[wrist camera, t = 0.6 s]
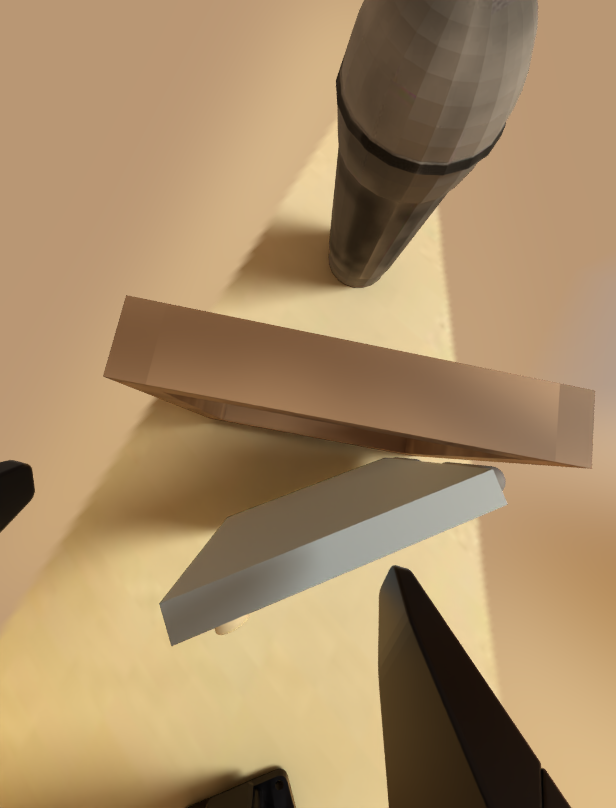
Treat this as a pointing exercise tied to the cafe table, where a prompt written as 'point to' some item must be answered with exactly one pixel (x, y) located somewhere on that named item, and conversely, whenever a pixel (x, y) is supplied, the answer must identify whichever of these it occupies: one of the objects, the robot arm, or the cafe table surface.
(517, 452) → the cabinet frame
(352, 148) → the beverage cup
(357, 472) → the cabinet door
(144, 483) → the cafe table surface
